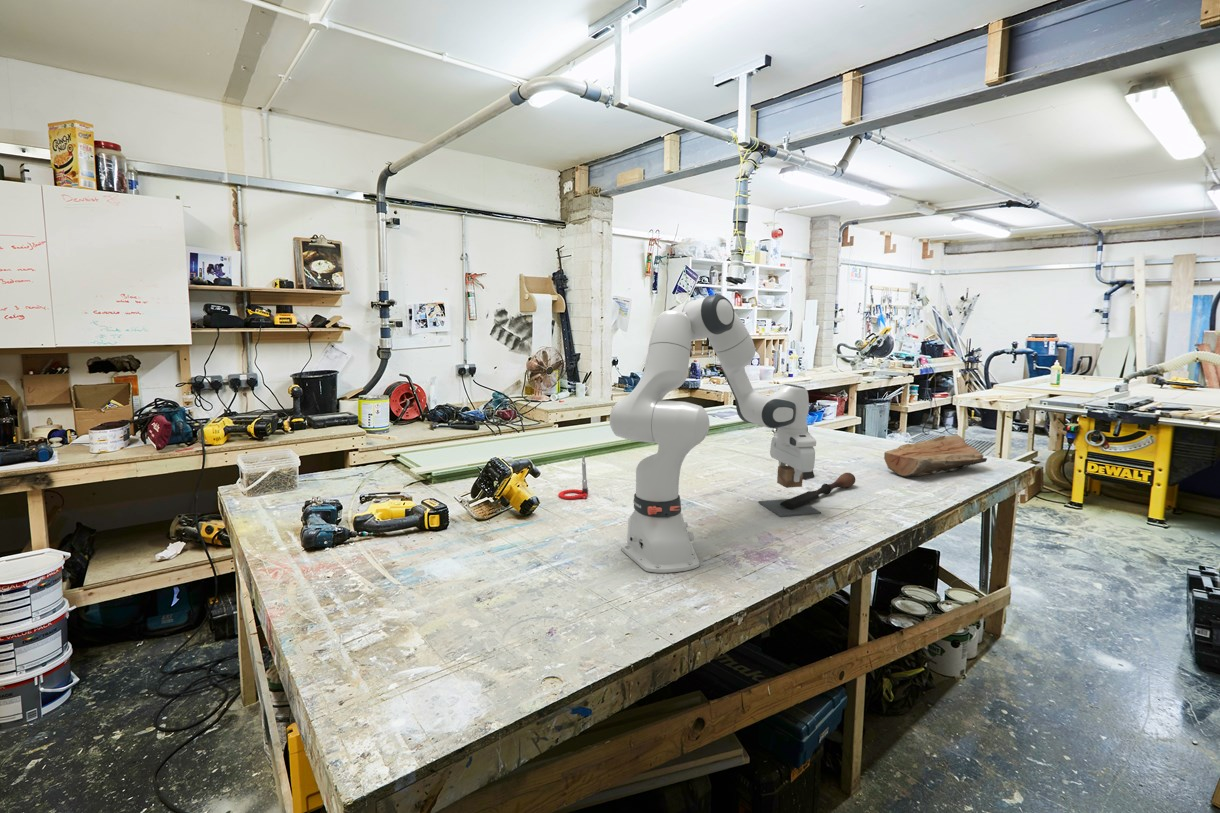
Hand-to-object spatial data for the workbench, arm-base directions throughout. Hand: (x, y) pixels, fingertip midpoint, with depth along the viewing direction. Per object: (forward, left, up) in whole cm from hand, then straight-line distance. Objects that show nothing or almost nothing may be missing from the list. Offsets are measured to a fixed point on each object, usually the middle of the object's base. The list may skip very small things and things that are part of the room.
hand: (789, 478), depth 179 cm
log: (+27, -81, -10) cm, 86 cm away
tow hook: (+26, +65, -10) cm, 71 cm away
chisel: (+8, -17, -10) cm, 21 cm away
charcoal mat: (-1, 0, -10) cm, 10 cm away
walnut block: (0, 0, -2) cm, 2 cm away
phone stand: (+32, -24, -10) cm, 42 cm away
